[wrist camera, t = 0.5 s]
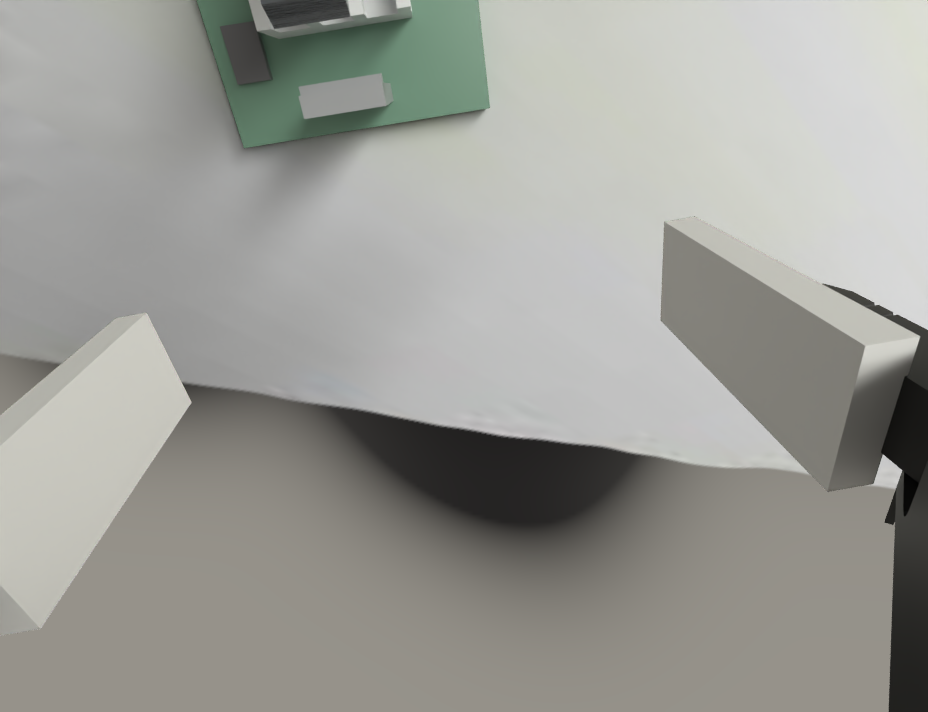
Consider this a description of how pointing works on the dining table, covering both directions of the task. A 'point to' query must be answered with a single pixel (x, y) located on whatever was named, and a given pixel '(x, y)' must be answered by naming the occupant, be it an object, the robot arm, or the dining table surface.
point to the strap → (304, 11)
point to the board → (347, 66)
